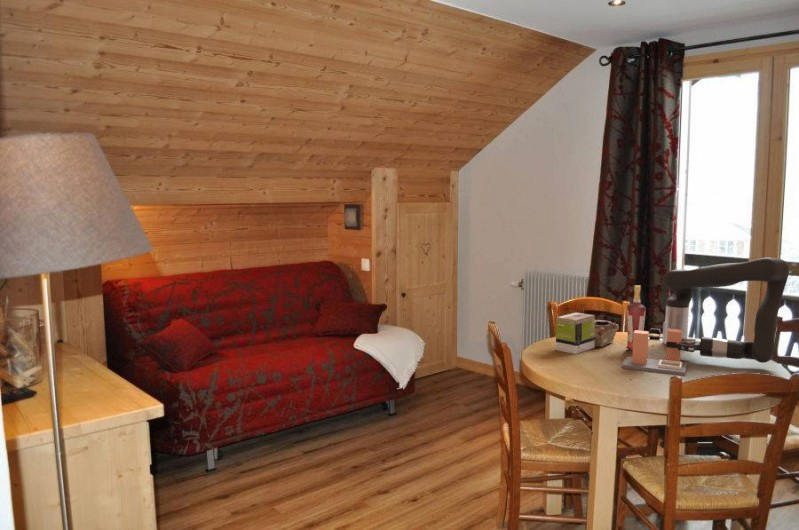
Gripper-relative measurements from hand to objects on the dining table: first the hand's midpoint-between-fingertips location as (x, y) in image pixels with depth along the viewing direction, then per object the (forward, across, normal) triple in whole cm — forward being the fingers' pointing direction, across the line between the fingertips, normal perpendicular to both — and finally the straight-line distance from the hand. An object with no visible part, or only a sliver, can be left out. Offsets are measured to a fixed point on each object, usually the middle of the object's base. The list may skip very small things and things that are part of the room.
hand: (666, 342), depth 256 cm
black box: (+8, -37, +7) cm, 38 cm away
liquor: (+13, -7, +7) cm, 16 cm away
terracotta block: (-3, 0, +7) cm, 7 cm away
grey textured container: (+29, -16, +7) cm, 34 cm away
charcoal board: (+3, +15, +7) cm, 17 cm away
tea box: (+36, +1, +7) cm, 37 cm away
